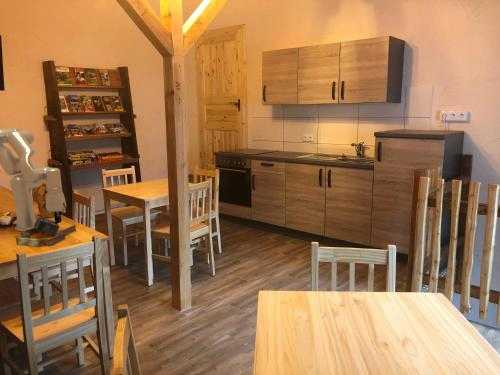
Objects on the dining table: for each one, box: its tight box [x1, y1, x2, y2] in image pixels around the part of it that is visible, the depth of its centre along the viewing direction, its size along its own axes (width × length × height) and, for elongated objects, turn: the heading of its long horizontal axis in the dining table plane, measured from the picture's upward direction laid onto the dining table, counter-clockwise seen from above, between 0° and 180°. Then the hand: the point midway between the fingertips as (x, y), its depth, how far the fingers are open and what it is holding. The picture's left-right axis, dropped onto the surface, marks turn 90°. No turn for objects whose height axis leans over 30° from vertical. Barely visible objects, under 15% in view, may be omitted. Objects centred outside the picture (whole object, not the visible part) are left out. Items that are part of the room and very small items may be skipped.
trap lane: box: [15, 224, 77, 248], centre depth 229 cm, size 24×27×4 cm
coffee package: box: [37, 181, 54, 219], centre depth 269 cm, size 10×12×22 cm
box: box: [34, 216, 60, 237], centre depth 232 cm, size 8×6×11 cm
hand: (58, 222), depth 236 cm, fingers closed
